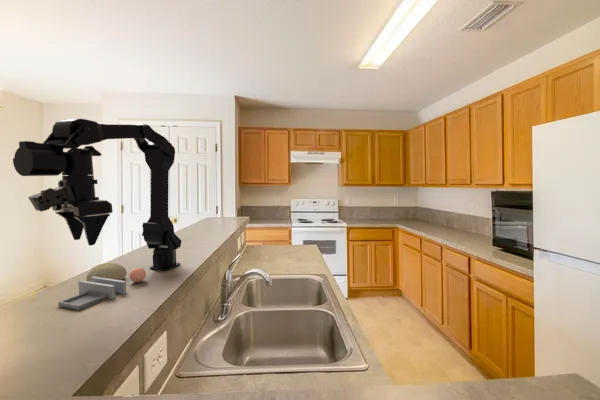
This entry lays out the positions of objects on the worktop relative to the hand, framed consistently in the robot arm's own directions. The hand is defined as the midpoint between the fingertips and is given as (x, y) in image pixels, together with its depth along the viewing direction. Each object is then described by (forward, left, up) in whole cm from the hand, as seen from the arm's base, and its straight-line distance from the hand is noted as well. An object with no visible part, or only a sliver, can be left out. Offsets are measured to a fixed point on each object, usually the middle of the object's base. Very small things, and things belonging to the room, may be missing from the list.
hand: (84, 242), depth 66 cm
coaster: (+2, +1, -14) cm, 14 cm away
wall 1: (-2, 0, -14) cm, 14 cm away
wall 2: (-5, 0, -14) cm, 14 cm away
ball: (-12, +2, -14) cm, 18 cm away
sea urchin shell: (-10, -7, -14) cm, 18 cm away
